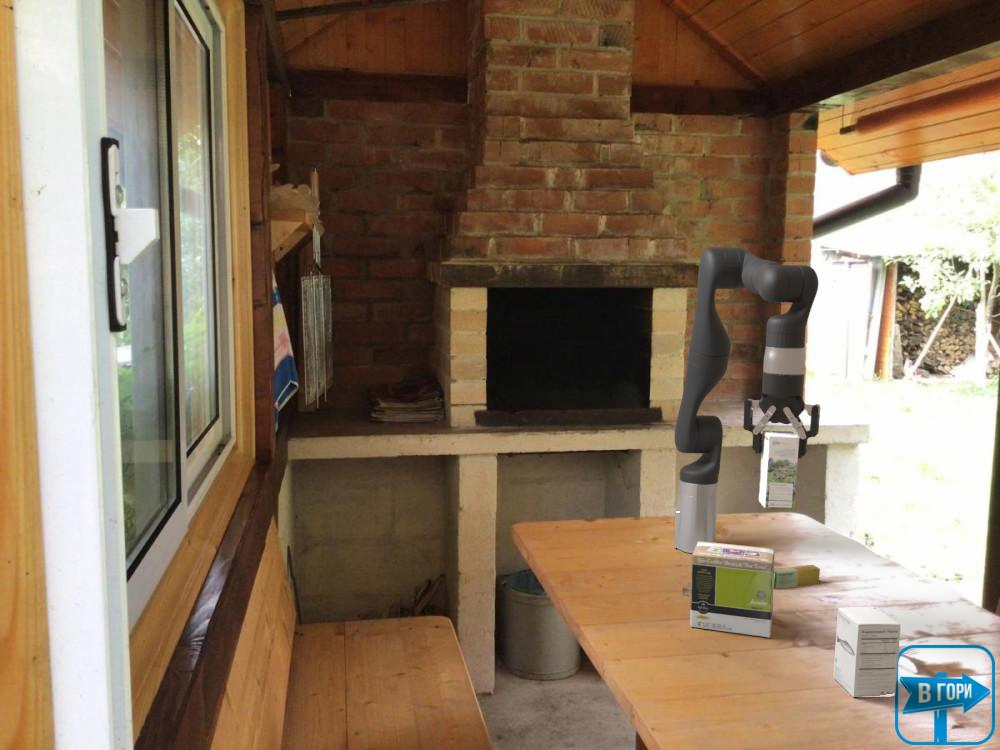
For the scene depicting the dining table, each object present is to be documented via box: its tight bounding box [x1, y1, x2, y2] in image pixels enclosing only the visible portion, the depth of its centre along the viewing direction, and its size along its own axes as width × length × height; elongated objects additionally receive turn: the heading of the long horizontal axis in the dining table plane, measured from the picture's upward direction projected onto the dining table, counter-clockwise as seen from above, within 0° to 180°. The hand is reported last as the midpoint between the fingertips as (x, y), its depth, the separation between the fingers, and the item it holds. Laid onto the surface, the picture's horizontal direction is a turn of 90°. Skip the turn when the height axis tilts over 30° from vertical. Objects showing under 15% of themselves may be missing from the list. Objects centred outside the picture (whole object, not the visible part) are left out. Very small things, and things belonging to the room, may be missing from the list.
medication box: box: [773, 564, 821, 590], centre depth 193 cm, size 12×3×4 cm, turn 109°
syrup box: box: [758, 430, 800, 510], centre depth 170 cm, size 6×6×14 cm
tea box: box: [689, 541, 775, 638], centre depth 170 cm, size 15×10×15 cm
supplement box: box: [832, 606, 902, 698], centre depth 144 cm, size 7×7×13 cm
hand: (779, 455), depth 169 cm, fingers closed on syrup box, 7 cm apart
